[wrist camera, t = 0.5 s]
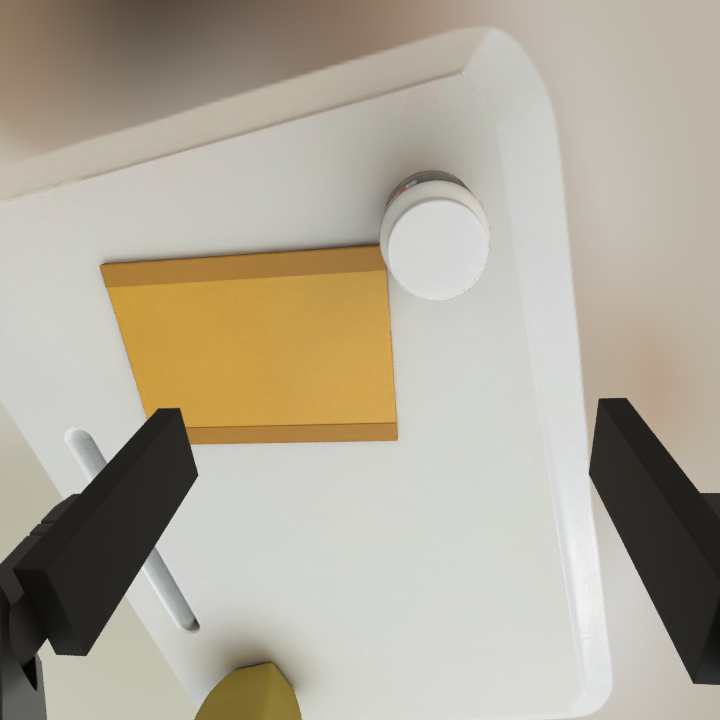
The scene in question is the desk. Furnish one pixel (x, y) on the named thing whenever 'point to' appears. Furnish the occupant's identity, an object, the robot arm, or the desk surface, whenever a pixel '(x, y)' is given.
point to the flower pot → (251, 696)
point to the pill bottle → (434, 236)
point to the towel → (262, 343)
